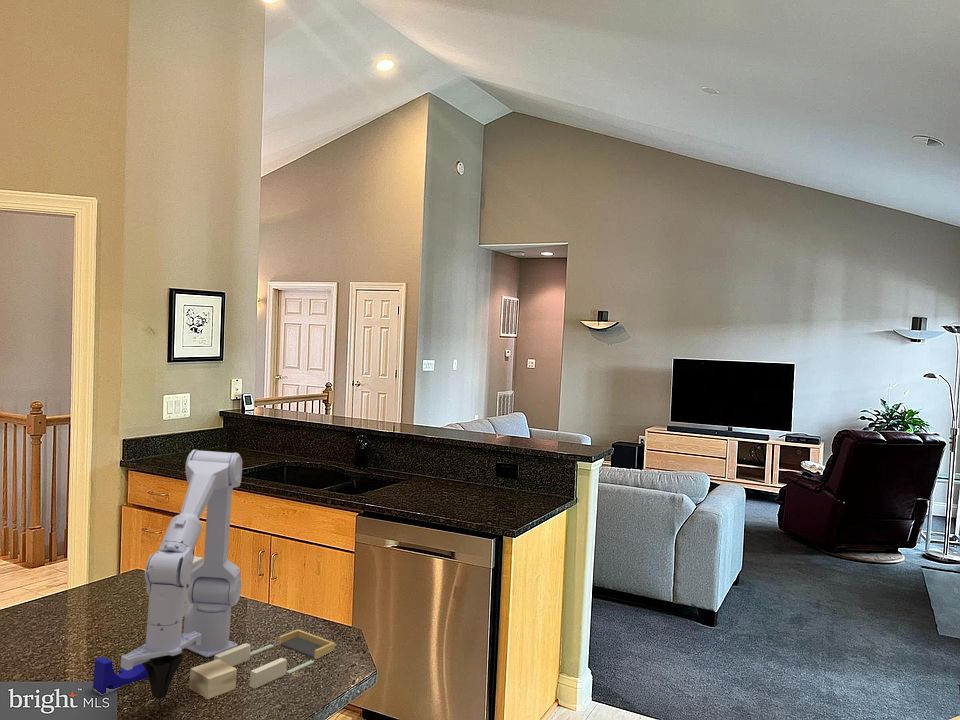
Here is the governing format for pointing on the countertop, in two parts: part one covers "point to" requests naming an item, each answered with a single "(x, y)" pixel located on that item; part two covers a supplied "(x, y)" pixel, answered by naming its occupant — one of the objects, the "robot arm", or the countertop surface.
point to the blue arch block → (115, 675)
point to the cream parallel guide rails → (258, 674)
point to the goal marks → (288, 670)
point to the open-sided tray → (306, 644)
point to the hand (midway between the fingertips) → (159, 696)
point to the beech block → (212, 678)
